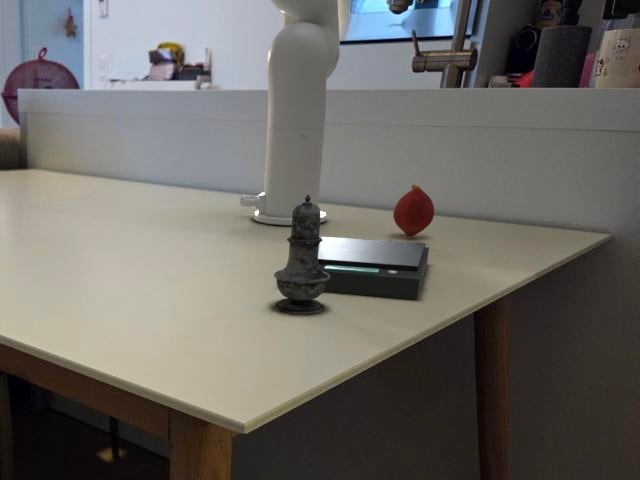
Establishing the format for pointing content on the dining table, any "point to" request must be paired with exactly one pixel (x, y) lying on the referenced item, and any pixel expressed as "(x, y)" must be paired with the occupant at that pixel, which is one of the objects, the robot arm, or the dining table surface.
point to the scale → (373, 266)
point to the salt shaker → (302, 264)
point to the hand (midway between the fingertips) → (619, 16)
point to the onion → (414, 211)
